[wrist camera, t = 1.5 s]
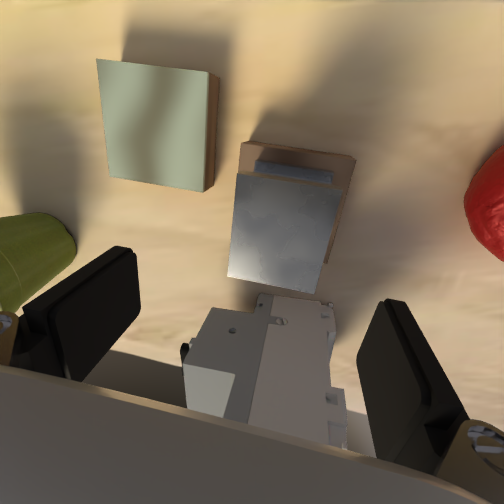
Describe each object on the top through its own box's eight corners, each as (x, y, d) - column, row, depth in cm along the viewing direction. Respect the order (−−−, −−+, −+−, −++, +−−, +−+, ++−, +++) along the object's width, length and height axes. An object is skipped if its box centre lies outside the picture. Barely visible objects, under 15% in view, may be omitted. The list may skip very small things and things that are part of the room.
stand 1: (219, 77, 22) (207, 71, 20) (213, 185, 26) (202, 192, 24) (120, 65, 24) (96, 58, 21) (129, 171, 28) (109, 176, 25)
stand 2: (350, 155, 23) (356, 160, 20) (325, 249, 27) (327, 263, 24) (248, 141, 24) (240, 143, 21) (238, 233, 28) (231, 244, 26)
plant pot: (74, 189, 30) (-45, 223, 20) (106, 282, 35) (24, 346, 25) (-10, 192, 32) (-154, 224, 22) (31, 278, 37) (-71, 336, 27)
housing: (332, 170, 21) (342, 190, 15) (313, 250, 24) (314, 294, 18) (257, 159, 22) (237, 173, 16) (247, 238, 25) (227, 276, 19)
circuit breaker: (208, 285, 32) (136, 402, 19) (332, 303, 30) (351, 450, 16) (210, 334, 35) (150, 463, 22) (322, 353, 33) (331, 509, 20)
